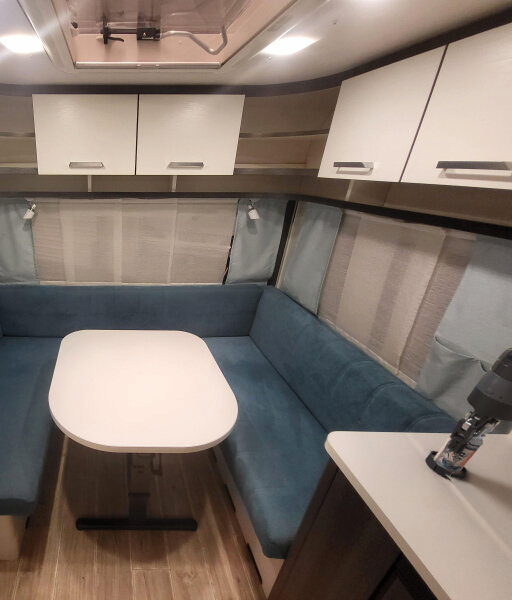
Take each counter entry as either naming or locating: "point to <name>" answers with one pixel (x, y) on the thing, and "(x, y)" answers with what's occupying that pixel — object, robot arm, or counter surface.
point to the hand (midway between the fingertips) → (460, 447)
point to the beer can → (456, 455)
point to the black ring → (441, 470)
